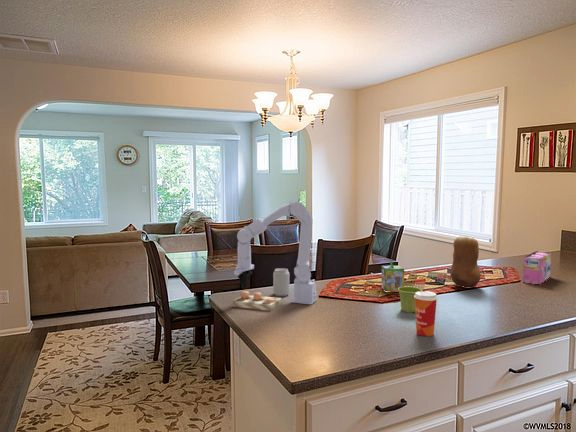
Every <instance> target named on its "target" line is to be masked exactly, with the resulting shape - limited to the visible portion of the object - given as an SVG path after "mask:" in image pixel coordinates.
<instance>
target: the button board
mask: <svg viewBox="0 0 576 432" xmlns="http://www.w3.org/2000/svg"><path fill="white" fill-rule="evenodd" d="M269 298H272V299H274V302H273V303H272V302H266V299H269ZM282 304H283V298H282V297H275V296H273V297H272V296H265V295H264V296H263V295H261V301H254V300H253V294H249V299H247V300H244V299H241V296H239V297H237V298H235V299H233V300H232V307H233V308H234V307H236V308H244V309H252V310H259V309H260V310H262V311H267V312H269V311H270V312H272V311H274V310H275V309H277V308H278V307H280V305H282Z"/></svg>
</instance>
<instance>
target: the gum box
mask: <svg viewBox="0 0 576 432" xmlns="http://www.w3.org/2000/svg"><path fill="white" fill-rule="evenodd" d="M522 265H523V269H522V270H523V271H522V283H523V282H529V283H535V284H540V285H541V283H542V282H543V283H544V281H545V280H546V279H548V278H549V277H551V278H552V275H551V273H552V253H551V252H547V253H545V252H539V251H533V252H531V253H529V254H527V255H525V256H523V264H522ZM549 279H550V278H549ZM549 279H548V280H549ZM546 281H547V280H546ZM546 281H545V282H546ZM543 283H542V284H543Z"/></svg>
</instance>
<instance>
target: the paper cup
mask: <svg viewBox="0 0 576 432" xmlns="http://www.w3.org/2000/svg"><path fill="white" fill-rule="evenodd" d="M414 298H415V311H416V312H415V328H416V329H415V330H416V334H417V335H418V336H421V337H433V336H434V334H435V333H434V332H435V323H436V311H437V300H438V296H437V293H435V292H434V291H428V290H426V291H423V290H422V291H420V292H419V291H418V292H416V293H415V295H414Z"/></svg>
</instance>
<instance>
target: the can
mask: <svg viewBox="0 0 576 432" xmlns="http://www.w3.org/2000/svg"><path fill="white" fill-rule="evenodd" d="M272 273H273V275H272V278H273V285H272V287H273V290H272V291H273V294H274V295H275V296H277V297H286V296H288V295H289V294H290V272H289V269H288V268H284V267H282V268H281V267H279V268H275V269H274V271H273V272H272Z"/></svg>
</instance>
